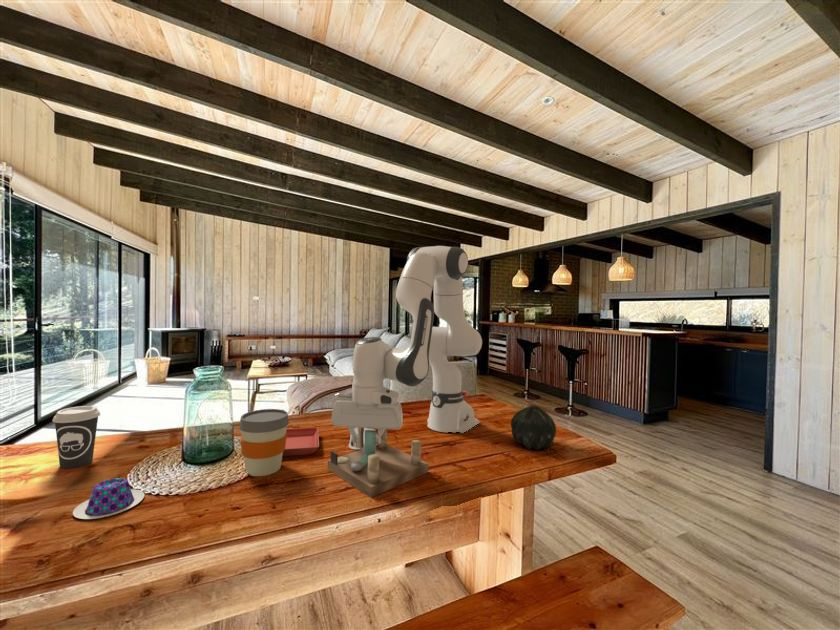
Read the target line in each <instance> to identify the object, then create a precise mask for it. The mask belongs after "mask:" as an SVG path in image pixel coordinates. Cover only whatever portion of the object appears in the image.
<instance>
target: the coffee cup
mask: <svg viewBox="0 0 840 630" xmlns="http://www.w3.org/2000/svg"><path fill="white" fill-rule="evenodd" d="M100 416H101V412H100V410H99V409H98V408H97V406H95V405H82V406H81V405H79V406H74V407H73V406H71V407H67V408H63V409H60V410H58V411H57V412H56V413H55V415H54V416H53V418H52V422H53V423H54V426H55V434H56V436H55V437H56V445H57V452H58V454H57V455H58V461H59V463H58V464H59V468H60V469H63V470H64V469H65V470H69V469H76V468H80V467H83V466H86V465H87V466H88V465H89V464H91V463H92V462H93V459H94V452H95V444H96V443H95V442H96V437H97V436H96V435H97V428H98V427H97V426H98V423H99V422H98V420H99V417H100Z"/></svg>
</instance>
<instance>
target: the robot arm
mask: <svg viewBox="0 0 840 630" xmlns="http://www.w3.org/2000/svg"><path fill="white" fill-rule="evenodd" d="M468 265H469V257H468V254H467V252H466V251H465V250H464V248H461V247H457V246H446V245H435V246H434V245H433V246H418V247H414V248H412V249H411V250H410V251H409V253H408V254H407V256H406V263H405V265H404V267H403V269H402V272H401V275H400V277H399V281H398V283H397V285H396V289H395V298H396V301H397V303H398V305H399V306H400V308H402V309H403V310H405V311H406V312H407V313H409V314H410V316H412V319H413V325H412V330H411V336H410V342H409V346H408V347H407V349H405V348H404V349H403V348H398V347H394V346H391V345H389V344H388V343H386V342H385V341H384V340H383V339H382V338H381V337H378V336H371V337H369V336H368V337H363V338H361V339H359V340H358V341H356V343H355V345H354V349H353V356H352V372H353V380H352V383H351V384H352V385H351V388H352V389H351V391H352V392H351V393H348V392H347V393H346V392H345V393H343V392H338V393H336V394H334V395H333V396H332V398H331V399H332V400H331V405H332V413H331V419H330V420H331V422H330V423H331V424H332V426H333V427H345V428H348V432H349V434H351V435H352V436H353V442H358V441H359V435H357V434H356V432H355V430H354V429H355V428H356V427H358V428H368V429H375V430H376V429H377V430H378V429H379V432H381V433H380V434H379V436H378V435H376V437H375V444H376V445H378V444H380V443H381V436H382V434H383V433H384V431H385V429H387V430H399V429H401V428H402V426H403V422H404V421H403V409H402V404H401V403H400V401H399V399H400V394H399V392H398V391H396V390H393V389H390V388H387V387H384V386H385V385H384V384H385V383H384V380H386V379H388V380H390V381H394V382H397V383H400V384H403V385H406V386H408V387H416V386H418V385H420V384H421V383H423V381H424V380H425V379H426V378H427V376H428V375H429V370H430V367H431V371H432V389H431V393H430V394H431V397H430V399H431V402H430V407H429V414H428V418H427V425H426V426H427V428H428V429H431V430H432V431H435V432H441V433H448V432H452V433H456V432H460V433H459V434H465V433H464V432H466V431H467V432H468V430H469V429H470V430H472V429H473V428H472V427H474V426H475V425H477V424H479V423H480V424H481V421H480V420H479V419H477V418H475V411H474V408H473V407H472V405H470V404H469V403H467V401H465V398H464V397H468V395H469V392H468V391H466V390H462V371H461V369H460V368H458V367H457V366H456V365H455V364H452V363H451V362H450V361H449V360H448V356H452V357H454V356H455V357H472V356H477V355H478V354H479V353H480V350H481V349H482V345H483V339H482V336H481V334H480V332H479V331H478V330H476V329H475V328H474V327H473V326H472V324H470V323H469V321H468V320H467V318H466V315H465V314H466V313H465V309H464V286H463V283H464V282H463V276H464V275H465V274H466V272H467V270H468V267H469V266H468ZM432 292H433V302H432ZM435 315H436V316H437V318H439V319H440V320H443V321H444V322H446V323H447V324H448V326H449V327H448V326H447V327H446V326H445V327H444V326H434V320H435V319H434V318H435ZM480 424H479V425H480ZM477 426H478V425H477ZM475 427H476V426H475ZM475 427H474V428H475ZM471 428H472V429H471ZM470 430H469V431H470ZM467 432H466V433H467Z"/></svg>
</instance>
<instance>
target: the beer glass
mask: <svg viewBox="0 0 840 630" xmlns="http://www.w3.org/2000/svg"><path fill="white" fill-rule="evenodd" d="M367 429H369V428H358V427H356V428H355V429H354V430H355V432H356V434H357V435H359V441H358V442H353V436H352V435H351V434H350V433H349V434H350V438H349V443H348V448H349V449H351V450H356V451H359V450H362V449H364V442H365V430H367Z"/></svg>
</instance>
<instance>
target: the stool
mask: <svg viewBox="0 0 840 630" xmlns="http://www.w3.org/2000/svg"><path fill="white" fill-rule="evenodd" d="M380 433H381V432H379V429H377V436H379V434H380ZM387 442H388V429H385V431H384V433H383V434H382V436H381V443H380V444H376V451H375V454H371V455H369V456H368V463H367V464H366V465H365V466H364V467H363V469H362V470H361V471H352V470H351V464H352V463H353V462H356V461H358V460H359V459H360V458H361V457H362V456H363V455H364V449H361V450H356V451H353V452H349V453H346V454H343V455H341V456H339V455H338V454H339V453H337V452H335V451H333V450H330V459H328V460H327V470H328V471H330V472H332V473H333V474H334V475H336V476H338V477H339V478H340V479H342V480H344V481H345V482H346V483H348V484H349V485H351V486H352V487H354V488H355V489H357V490H359V491H360V492H362V493H363V494H364V495H366V496H368V497H369V498H374V497H375V496H376V497H377V496H378V495H380V494H383V493H384V492H387V491H389V490H391V489H393V488H396V487H397V486H400V485H402V484H405V483H407V482H409V481H412V480H414V479H416V478H418V477H421V476H423V475H425V474H427V473H429V462H426V461H424V460H422V440H419V439H413V440H411V444H410V445H411V446H410V447H411V449H410V454H409V453H407V452H404V451H402V450H400V449H397V448H396V447H393V446H391V445H390V444H387Z"/></svg>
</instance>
